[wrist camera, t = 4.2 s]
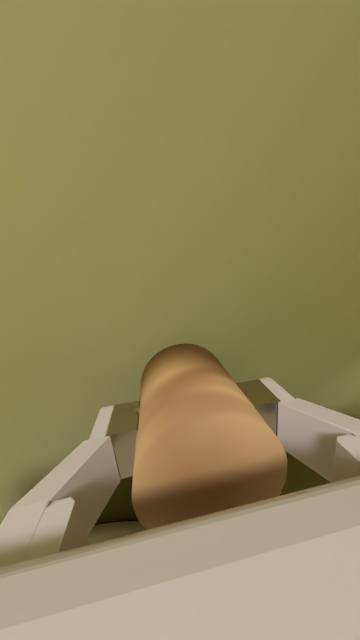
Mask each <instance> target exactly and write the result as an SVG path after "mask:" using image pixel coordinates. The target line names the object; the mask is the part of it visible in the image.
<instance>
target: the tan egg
mask: <svg viewBox="0 0 360 640" xmlns="http://www.w3.org/2000/svg"><path fill="white" fill-rule="evenodd" d="M139 401H140V409H139V415H138V416H139V421H138V433H137V438H136V447H135V459H134V470H133V482H132V505H133V509H134V512H135V514H136V516H137V518H138V520H139V521H140V523H141V524H142V525H143V526H144V527H145V528H146V529H147V530H148V529H152V528H156V527H160V526H164V525H168V524H172V523H176V522H179V521H183V520H187V519H191V518H195V517H199V516H203V515H207V514H211V513H215V512H219V511H222V510H226V509H230V508H234V507H238V506H242V505H246V504H250V503H254V502H258V501H262V500H266V499H269V498H273V497H277V496H279V495H280V494H281V492H282V489H283V487H284V485H285V481H286V477H287V470H288V464H287V456H286V452H285V450H284V447H283V445H282V444H281V442H280V440H279V439H278V438H277V436H276V435H275V434H274V432H273V431H272V430H271V428H270V427H269V426H268V425H267V423H266V422H265V421H264V419H263V418H262V417H261V415H260V414H259V413H258V412H257V410H256V409H255V408H254V406H253V405H252V404H251V402H250V401H249V400H248V399H247V397H246V396H245V395H244V393H243V392H242V391H241V389H240V388H239V387H238V385H237V384H236V383H235V382H234V380H233V379H232V378H231V376H230V375H229V374H228V372H227V371H226V370H225V369H224V367H223V366H222V365H221V363H220V362H219V361H218V359H217V358H216V357H215V356H214V355H213V354H212V353H211V352H210V351H208V350H207V349H205V348H203V347H201V346H198V345H193V344H178V345H173V346H170V347H168V348H165V349H163V350H162V351H160V352H159V353H157V354H156V355H155V356H154V357H153V358H152V359H151V360H150V361H149V363H148V364H147V365H146V367H145V369H144V372H143V374H142V379H141V388H140V400H139Z"/></svg>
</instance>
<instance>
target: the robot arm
mask: <svg viewBox="0 0 360 640" xmlns="http://www.w3.org/2000/svg"><path fill="white" fill-rule="evenodd" d="M236 384H237V385H238V387H239V388H240V389H241V391H242V392H243V393H244V395H245V396H246V397H247V399H248V400H249V401H250V402H251V404H252V405H253V406H254V408H255V409H256V410H257V412H258V413H259V414H260V415H261V417H262V418H263V419H264V421H265V422H266V423H267V425H268V426H269V427H270V428H271V430H272V431H273V432H274V434H275V435H276V436H277V438H278V439H279V440H280V442H281V444H282V445H283V447H284V450H285V451H286V452H287V453H289V454H290V455H292V456H293V457H295V458H296V459H297V460H299V461H300V462H302V463H303V464H305V465H306V466H308V467H309V468H311V469H312V470H313V471H315V472H316V473H318V474H319V475H321V476H322V477H324V478H325V479H327V480H328V481H329V482H331V483H328V484H324V485H320V486H316V487H312V488H308V489H304V490H301V491H297V492H293V493H289V494H285V495H281V496H277V497H273V498H269V499H266V500H262V501H258V502H254V503H250V504H246V505H242V506H238V507H234V508H230V509H226V510H222V511H219V512H215V513H211V514H207V515H203V516H199V517H195V518H191V519H187V520H183V521H179V522H176V523H172V524H168V525H164V526H160V527H156V528H152V529H148V530H144V531H140V532H137V533H133V534H129V535H125V536H121V537H117V538H113V539H109V540H105V541H101V542H98V543H94V544H90V545H89V544H88V541H87V537H88V535H89V533H90V532H91V530H92V528H93V527H94V525H95V523H96V522H97V520H98V518H99V516H100V515H101V513H102V511H103V510H104V508H105V506H106V505H107V503H108V501H109V500H110V498H111V496H112V495H113V493H114V491H115V490H116V488H117V486H118V485H119V483H120V479H124V478H127V477H131V476H133V470H134V459H135V447H136V438H137V433H138V421H139V416H138V415H139V409H140V401H135V402H129V403H122V404H116V405H110V406H105V407H102V408H101V409H100V411H99V414H98V416H97V419H96V422H95V424H94V427H93V430H92V432H91V435H90V438H89V440H85V441H83V442H82V443H81V444H80V445H79V446H78V447H77V448H76V449H75V450H74V451H73V452H72V453H70V454H69V455H68V456H67V457H66V458H65V459H64V460H63V461H62V462H61V463H60V464H58V465H57V466H56V467H55V468H54V469H53V470H52V471H51V472H50V473H49V474H48V475H47V476H45V477H44V478H43V479H42V480H41V481H40V482H39V483H38V484H37V485H36V486H35V487H33V488H32V489H31V490H30V491H29V492H28V493H27V494H26V495H25V496H24V497H23V498H22V499H20V500H19V501H18V502H17V503H16V504H15V505H14V506H13V507H12V508H11V509H10V510H9V511H8V513H7V515H6V516H5V518H4V520H3V522H2V523H1V525H0V640H360V420H359V419H357V418H354V417H351V416H348V415H345V414H342V413H339V412H336V411H334V410H331V409H328V408H325V407H322V406H319V405H316V404H314V403H311V402H308V401H305V400H302V399H299V398H297V399H294V398H293V397H292V396H291V395H290V394H289V393H287V392H286V391H285V390H284V389H283V388H282V387H281V386H279V385H278V384H277V383H276V382H275V381H274V380H272V379H271V378H270V377H265V378H260V379H257V380H252V381H247V382H242V383H236Z"/></svg>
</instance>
